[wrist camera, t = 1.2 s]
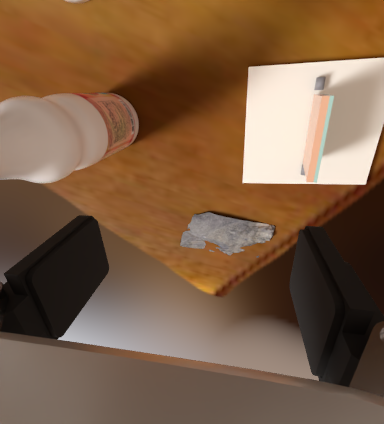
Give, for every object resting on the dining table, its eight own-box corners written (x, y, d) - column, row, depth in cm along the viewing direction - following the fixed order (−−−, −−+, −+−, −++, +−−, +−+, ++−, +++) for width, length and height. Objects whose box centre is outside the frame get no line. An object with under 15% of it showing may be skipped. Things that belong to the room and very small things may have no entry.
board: (248, 67, 36) (249, 66, 34) (399, 57, 32) (410, 54, 30) (242, 181, 44) (243, 185, 42) (362, 182, 40) (369, 187, 38)
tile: (321, 96, 26) (334, 95, 26) (313, 94, 34) (323, 93, 34) (306, 181, 31) (316, 182, 30) (302, 162, 39) (310, 162, 38)
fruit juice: (123, 158, 46) (-9, 237, 21) (82, 124, 44) (-113, 167, 19) (150, 118, 41) (24, 160, 17) (106, 79, 40) (-105, 62, 15)
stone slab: (179, 248, 52) (184, 210, 47) (181, 243, 54) (186, 205, 48) (262, 264, 51) (276, 226, 46) (261, 258, 53) (275, 221, 47)
